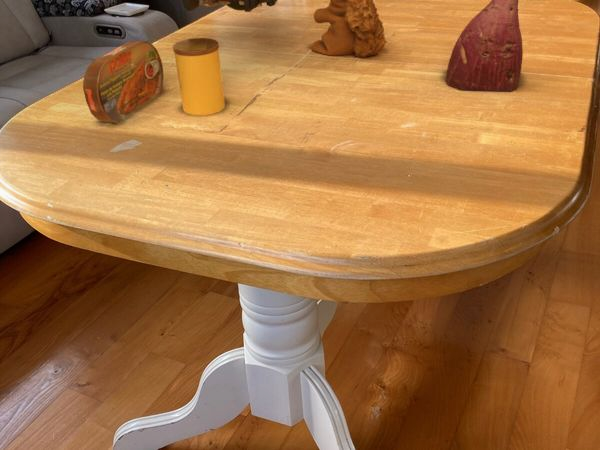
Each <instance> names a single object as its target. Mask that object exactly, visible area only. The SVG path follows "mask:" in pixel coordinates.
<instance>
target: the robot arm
mask: <svg viewBox="0 0 600 450" xmlns="http://www.w3.org/2000/svg"><path fill="white" fill-rule="evenodd" d="M277 2H278V0H180V3H181V6H183V9H185V10H186V12H193V11H194V12H195V10H196V9H198V8H199V7H201V6H205V7H209V8H211V7H216V6H220V5H223V6H227V8H230V9H232V10H234V11H240V12H241V11H244V12H245V13H251V12H252V11H253V10H254V9H257V8H260V7H262V6H263V4H266V6H267V7H273V6H276V4H277Z"/></svg>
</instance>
